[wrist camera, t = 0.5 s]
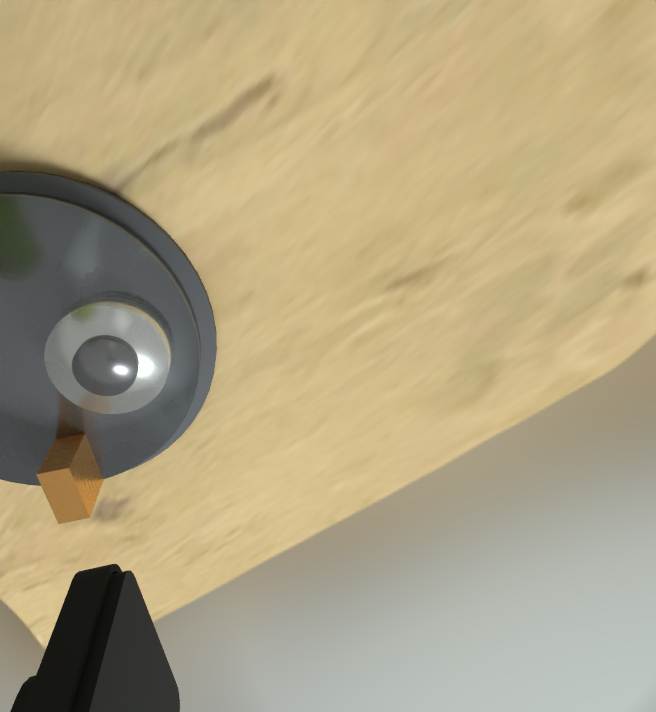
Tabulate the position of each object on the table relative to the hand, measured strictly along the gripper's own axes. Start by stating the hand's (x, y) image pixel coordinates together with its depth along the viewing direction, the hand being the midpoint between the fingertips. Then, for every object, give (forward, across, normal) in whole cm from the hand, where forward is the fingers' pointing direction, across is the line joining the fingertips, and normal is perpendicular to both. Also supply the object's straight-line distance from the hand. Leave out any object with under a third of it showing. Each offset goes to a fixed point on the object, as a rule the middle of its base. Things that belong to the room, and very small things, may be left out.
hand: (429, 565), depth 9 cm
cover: (+28, +12, +4) cm, 31 cm away
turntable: (+30, +17, +4) cm, 35 cm away
